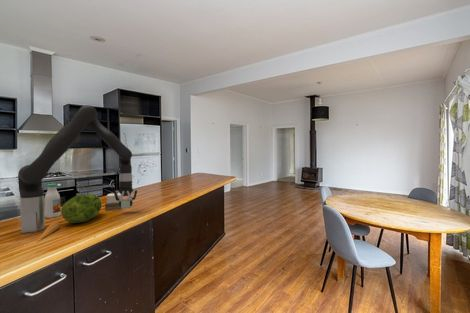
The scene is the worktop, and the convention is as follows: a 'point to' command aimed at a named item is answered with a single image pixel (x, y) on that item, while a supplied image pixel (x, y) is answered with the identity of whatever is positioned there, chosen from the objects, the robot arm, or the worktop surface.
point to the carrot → (50, 230)
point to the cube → (125, 203)
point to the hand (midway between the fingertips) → (126, 206)
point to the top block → (112, 198)
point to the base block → (112, 206)
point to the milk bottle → (52, 202)
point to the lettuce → (81, 208)
